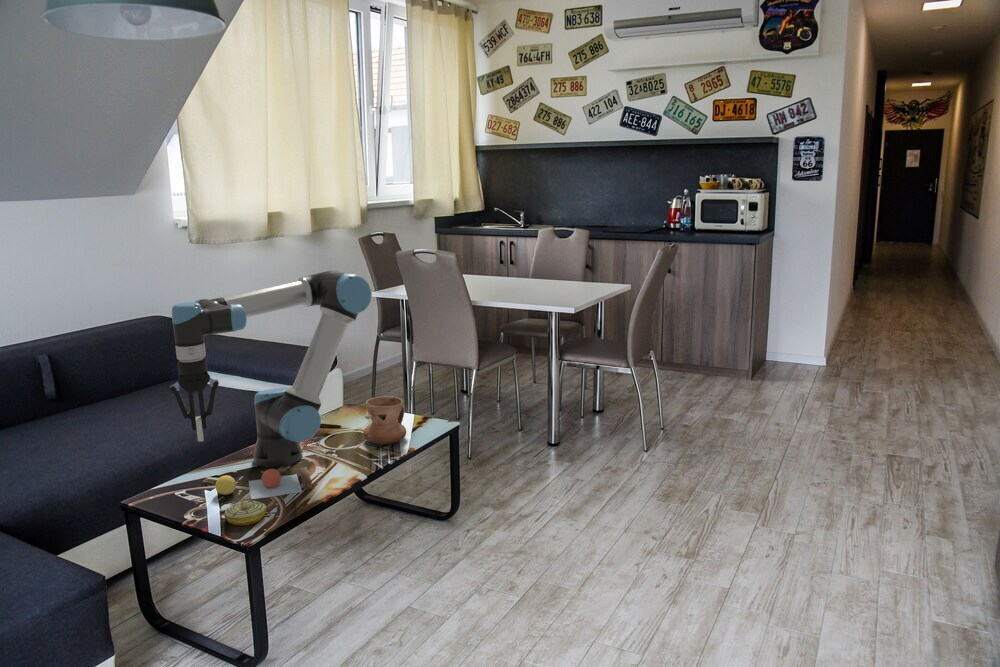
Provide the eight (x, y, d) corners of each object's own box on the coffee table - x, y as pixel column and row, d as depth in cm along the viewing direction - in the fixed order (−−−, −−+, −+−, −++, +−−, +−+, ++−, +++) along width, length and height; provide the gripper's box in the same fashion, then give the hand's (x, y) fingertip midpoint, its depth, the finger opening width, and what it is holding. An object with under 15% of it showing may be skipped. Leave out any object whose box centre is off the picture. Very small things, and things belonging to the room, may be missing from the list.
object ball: (256, 474, 232) (268, 487, 234) (258, 480, 227) (269, 494, 229) (272, 462, 233) (283, 476, 235) (274, 469, 228) (285, 482, 230)
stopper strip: (307, 474, 240) (306, 466, 240) (312, 489, 229) (311, 481, 229) (300, 475, 240) (299, 467, 239) (305, 490, 229) (304, 482, 228)
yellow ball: (211, 479, 227) (221, 494, 229) (211, 486, 222) (222, 501, 224) (229, 469, 229) (239, 483, 230) (229, 475, 223) (239, 491, 225)
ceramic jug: (382, 452, 258) (381, 410, 256) (352, 443, 267) (350, 402, 264) (419, 437, 273) (419, 398, 270) (389, 429, 281) (388, 391, 278)
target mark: (296, 474, 240) (296, 474, 240) (301, 492, 227) (301, 491, 227) (248, 481, 236) (248, 481, 236) (251, 499, 223) (251, 499, 223)
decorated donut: (262, 507, 218) (261, 494, 217) (270, 522, 209) (269, 509, 208) (223, 515, 213) (221, 502, 213) (229, 531, 204) (228, 517, 203)
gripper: (165, 364, 212) (175, 447, 217) (217, 359, 216) (225, 440, 221) (166, 358, 218) (176, 439, 224) (216, 353, 223) (224, 432, 228)
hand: (200, 439), depth 222 cm, fingers closed
